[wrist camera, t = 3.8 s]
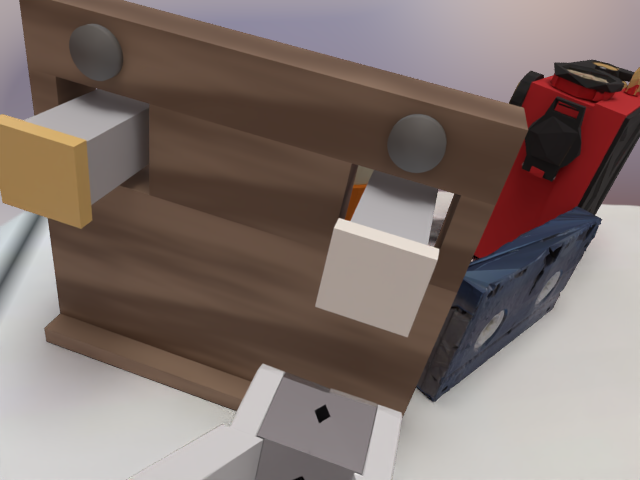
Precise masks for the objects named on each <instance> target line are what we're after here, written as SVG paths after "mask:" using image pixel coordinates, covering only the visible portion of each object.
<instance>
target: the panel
mask: <svg viewBox="0 0 640 480" xmlns="http://www.w3.org/2000/svg"><path fill="white" fill-rule="evenodd" d="M19 1H20V9H21V17H22V24H23V31H24V40H25V47H26V54H27V62H28V70H29V78H30V85H31V93H32V101H33V108H34V116H35V115H38V114H40V113H42V112H45V111H47V110H49V109H52V108H54V107H56V106H59V105H61V104H63V103H66V102H68V101H71V100H73V99H75V98H78V97H80V96H82V95H85V94H87V93H89V92H92V91H94V90H96V88H97V89H100V90H104V91H107V92H110V93H114V94H117V95H121V96H124V97H127V98H131V99H134V100H138V101H141V102H145V103H148V104H149V164H148V165H147V166H145V167H144V168H143V169H141V170H140V171H138V172H137V173H136V174H134V175H133V176H131V177H130V178H129V179H127V180H126V181H124V182H123V183H122V184H120V185H119V186H117V187H116V188H115V189H113V190H112V191H110V192H109V193H108V194H106V195H105V196H103V197H102V198H101V199H99V200H98V201H96V202H95V203H94V204H92V205H91V208H92V221H91V222H90V223H88V224H87V225H86V226H84V227H83V228H82V229H80V228H77V227H74V226H71V225H68V224H65V223H62V222H59V221H56V220H53V219H50V218H48V223H49V231H50V238H51V246H52V254H53V261H54V269H55V277H56V284H57V292H58V300H59V307H60V314H59V315H58V316H57V317H56V318H55V319H54V320H53V321H52V322H50V323H49V324H48V325H47V326H46V327H45V328H44V329H45V335H46V341H47V342H50V343H53V344H55V345H58V346H61V347H64V348H66V349H69V350H72V351H74V352H77V353H80V354H83V355H85V356H88V357H91V358H94V359H96V360H99V361H102V362H104V363H107V364H110V365H113V366H115V367H118V368H121V369H124V370H126V371H129V372H132V373H135V374H137V375H140V376H143V377H145V378H148V379H151V380H154V381H156V382H159V383H162V384H165V385H167V386H170V387H173V388H175V389H178V390H181V391H184V392H186V393H189V394H192V395H195V396H197V397H200V398H203V399H205V400H208V401H211V402H214V403H216V404H219V405H222V406H225V407H227V408H230V409H233V410H236V411H237V410H238V408H239V406H240V404H241V402H242V400H243V398H244V396H245V394H246V392H247V390H248V388H249V386H250V384H251V382H252V380H253V378H254V376H255V374H256V372H257V370H258V369H259V367H260V366H261V365H262V364H265V365H268V366H271V367H274V368H276V369H279V370H282V371H284V372H288V373H290V374H293V375H295V376H298V377H301V378H303V379H306V380H309V381H311V382H314V383H317V384H319V385H322V386H324V387H327V388H330V389H331V388H332V389H335V390H338V391H341V392H344V393H347V394H350V395H353V396H356V397H359V398H362V399H365V400H368V401H371V402H374V403H377V405H381V406H384V407H387V408H390V409H393V410H395V411H398V412H401V413H402V418H403V415H404V413H405V411H406V409H407V406H408V404H409V402H410V399H411V397H412V395H413V393H414V390H415V388H416V386H417V383H418V381H419V379H420V377H421V374H422V372H423V370H424V367H425V365H426V363H427V361H428V358H429V356H430V354H431V351H432V349H433V347H434V345H435V342H436V340H437V338H438V335H439V333H440V331H441V329H442V326H443V324H444V322H445V319H446V317H447V315H448V313H449V310H450V308H451V306H452V303H453V301H454V299H455V297H456V294H457V292H458V290H459V287H460V285H461V283H462V281H463V278H464V276H465V274H466V271H467V269H468V267H469V265H470V262H471V260H472V258H473V255H474V253H475V251H476V249H477V246H478V244H479V242H480V239H481V237H482V235H483V233H484V230H485V228H486V226H487V223H488V221H489V219H490V217H491V214H492V212H493V210H494V207H495V205H496V203H497V201H498V198H499V196H500V194H501V191H502V189H503V187H504V185H505V182H506V180H507V178H508V175H509V173H510V171H511V169H512V166H513V164H514V162H515V159H516V157H517V155H518V153H519V150H520V148H521V146H522V143H523V141H524V139H525V137H526V134H527V132H528V126H527V121H526V116H525V111H524V108H523V107H519V106H515V105H511V104H508V103H504V102H500V101H496V100H493V99H489V98H485V97H482V96H478V95H474V94H470V93H467V92H463V91H459V90H455V89H452V88H448V87H444V86H440V85H437V84H433V83H429V82H426V81H422V80H418V79H414V78H411V77H407V76H403V75H400V74H396V73H392V72H388V71H384V70H381V69H377V68H373V67H369V66H366V65H362V64H359V63H355V62H351V61H347V60H344V59H340V58H336V57H332V56H329V55H325V54H321V53H317V52H314V51H310V50H306V49H303V48H298V47H295V46H292V45H288V44H283V43H280V42H277V41H273V40H269V39H265V38H262V37H257V36H254V35H251V34H246V33H243V32H239V31H236V30H232V29H228V28H224V27H221V26H217V25H213V24H210V23H205V22H202V21H198V20H195V19H190V18H187V17H183V16H180V15H176V14H172V13H169V12H165V11H161V10H157V9H154V8H150V7H146V6H142V5H138V4H135V3H131V2H127V1H124V0H19ZM358 165H359V166H362V167H366V168H369V169H373V170H376V171H379V172H383V173H386V174H390V175H393V176H396V177H400V178H403V179H407V180H410V181H413V182H417V183H420V184H424V185H427V186H431V187H434V188H437V189H441V190H444V191H448V192H451V193H454V196H453V199H452V201H451V204H450V207H449V209H448V212H447V215H446V217H445V220H444V222H443V225H442V228H441V230H440V233H439V236H438V238H437V241H436V243H435V246H434V247H435V248H438V249H439V255H438V261H437V263H436V266H435V268H434V271H433V273H432V276H431V279H430V281H429V284H428V286H427V289H426V291H425V294H424V296H423V299H422V302H421V304H420V307H419V309H418V312H417V314H416V317H415V319H414V322H413V325H412V327H411V330H410V332H409V335H408V337H405V336H402V335H399V334H396V333H393V332H390V331H387V330H384V329H381V328H378V327H375V326H372V325H369V324H366V323H363V322H360V321H357V320H354V319H351V318H348V317H345V316H342V315H339V314H336V313H333V312H330V311H327V310H324V309H321V308H318V307H315V304H316V300H317V296H318V292H319V288H320V284H321V279H322V275H323V271H324V267H325V263H326V259H327V254H328V250H329V246H330V242H331V238H332V234H333V229H334V227H335V225H336V223H337V221H338V219H339V218H341V219H344V220H345V217H346V213H347V209H348V205H349V201H350V197H351V193H352V189H353V185H354V181H355V177H356V173H357V169H358Z"/></svg>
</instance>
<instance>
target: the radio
mask: <svg viewBox="0 0 640 480" xmlns="http://www.w3.org/2000/svg"><path fill="white" fill-rule="evenodd" d="M554 67H555V73H554V75H553V76H550V77H547V78H544V75H542V74H539V73H536V72H533V71H530V72H529V73H528V74H526V76H524V78H523V79H522V80H521V81H520V82H519V84H518V85H517V87H516V89H515V91H514V94H513V96H512V98H511V100H510V102H509V104H511V105H515V106H519V107H523V108H524V111H525V116H526V121H527V126H528V132H527V134H526V137H525V139H524V141H523V143H522V146H521V148H520V150H519V153H518V155H517V157H516V159H515V162H514V164H513V166H512V169H511V171H510V173H509V175H508V178H507V180H506V182H505V185H504V187H503V189H502V191H501V194H500V196H499V198H498V201H497V203H496V205H495V207H494V210H493V212H492V214H491V217H490V219H489V221H488V223H487V226H486V228H485V230H484V233H483V235H482V237H481V239H480V242H479V244H478V246H477V249H476V251H475V253H474V256H476V257H478V258H482V257H485V256H488V255H490V254H491V253H493V252H495V251H496V250H498V249H499V248H500V247H501V246H503V245H504V244H506V243H507V242H512V241H513V240H514V239H516V238H517V237H518V236H520V235H521V234H523V233H525V232H528V231H530V230H532V229H534V228H536V227H539V226H541V225H543V224H545V223H546V222H548V221H549V220H552V219H555V218H556V217H557V216H559V215H560V214H564V213H566V212H568V211H570V210H572V209H573V208H574V207H576V206H577V207H580V208H582V209H584V210H586V211H588V212H590V213H592V214H593V215H595V214H596V213H597V211H598V209H599V207H600V206H601V204H602V202H603V200H604V199H605V197H606V195H607V193H608V191H609V190H610V188H611V186H612V185H613V183H614V181H615V179H616V178H617V176H618V174H619V172H620V171H621V169H622V167H623V165H624V163H625V162H626V160H627V158H628V157H629V155H630V153H631V151H632V150H633V148H634V146H635V144H636V142H637V141H638V139H639V137H640V67H639V68H638V69H637V71H636V72H632V71H628V70H625V69H622V68H619V67H616V66H613V65H611V64H608V63H604V62H600V61H596V60H587V61H580V62H573V63H554ZM625 81H628V82H630V83H629V85H627V84H626V82H625Z"/></svg>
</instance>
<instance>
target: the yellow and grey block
mask: <svg viewBox="0 0 640 480" xmlns="http://www.w3.org/2000/svg"><path fill="white" fill-rule="evenodd" d="M148 164H149V104H148V103H145V102H141V101H138V100H134V99H131V98H127V97H124V96H121V95H117V94H114V93H110V92H107V91H104V90H100V89H96V90H94V91H92V92H89V93H87V94H85V95H82V96H80V97H78V98H75V99H73V100H71V101H68V102H66V103H63V104H61V105H59V106H56V107H54V108H52V109H49V110H47V111H45V112H42V113H40V114H38V115H35V116H33V117H31V118H28V119H26V120H24V121H23V120H20V119H16V118H13V117H10V116H7V115H4V114H2V115H0V191H1V196H2V201H3V203H5V204H8V205H11V206H14V207H17V208H20V209H23V210H26V211H29V212H32V213H35V214H38V215H41V216H44V217H47V218H50V219H53V220H56V221H59V222H62V223H65V224H68V225H71V226H74V227H77V228H80V229H82V228H83V227H84V226H86V225H87V224H88V223H90V222H91V221H92V208H91V205H92V204H94V203H95V202H96V201H98V200H99V199H101V198H102V197H103V196H105V195H106V194H108V193H109V192H110V191H112V190H113V189H115V188H116V187H117V186H119V185H120V184H122V183H123V182H124V181H126V180H127V179H129V178H130V177H131V176H133V175H134V174H136V173H137V172H138V171H140V170H141V169H143V168H144V167H145V166H147V165H148Z"/></svg>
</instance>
